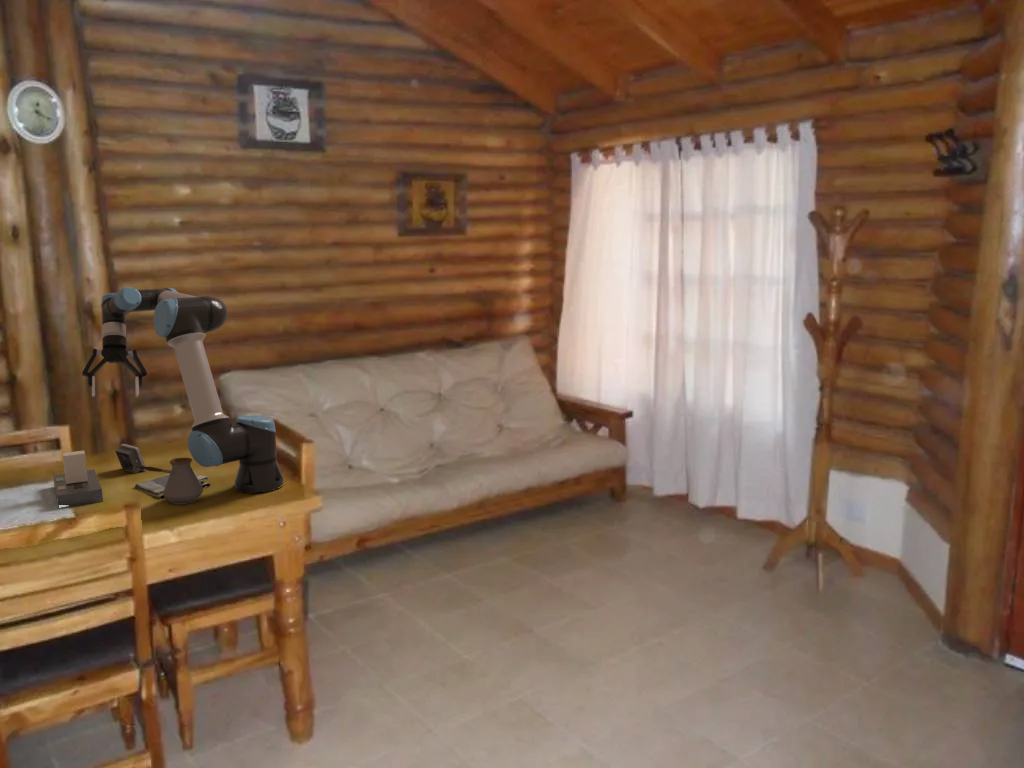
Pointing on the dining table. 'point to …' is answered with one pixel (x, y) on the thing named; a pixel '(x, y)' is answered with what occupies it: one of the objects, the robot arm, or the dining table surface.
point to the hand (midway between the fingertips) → (115, 395)
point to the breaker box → (78, 490)
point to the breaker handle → (75, 467)
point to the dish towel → (162, 485)
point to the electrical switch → (130, 458)
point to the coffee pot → (179, 482)
